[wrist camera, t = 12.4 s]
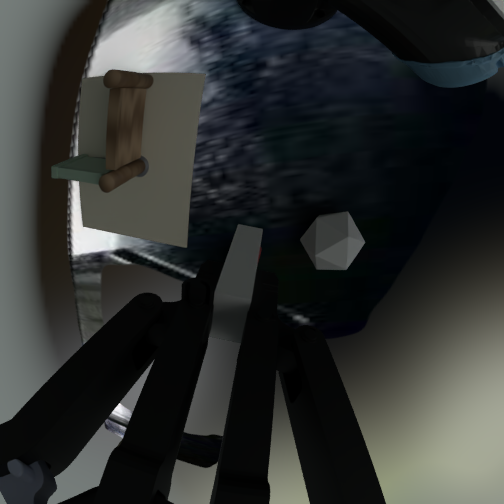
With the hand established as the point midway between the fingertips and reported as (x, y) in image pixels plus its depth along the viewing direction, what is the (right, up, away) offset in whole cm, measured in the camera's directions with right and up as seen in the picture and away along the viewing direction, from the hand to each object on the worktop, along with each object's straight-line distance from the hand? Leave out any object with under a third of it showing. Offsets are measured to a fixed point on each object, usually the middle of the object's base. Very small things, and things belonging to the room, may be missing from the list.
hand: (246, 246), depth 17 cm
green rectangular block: (-24, +14, +22) cm, 36 cm away
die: (+12, +3, +25) cm, 28 cm away
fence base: (-16, +19, +19) cm, 32 cm away
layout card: (-19, +15, +22) cm, 33 cm away
